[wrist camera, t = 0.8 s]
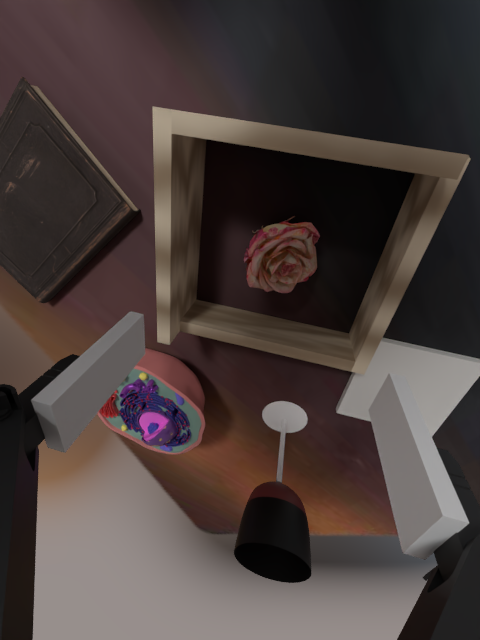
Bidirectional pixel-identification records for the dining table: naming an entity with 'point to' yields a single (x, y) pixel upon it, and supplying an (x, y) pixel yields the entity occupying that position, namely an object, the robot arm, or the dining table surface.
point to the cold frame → (262, 330)
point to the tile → (412, 380)
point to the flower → (281, 256)
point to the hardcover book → (51, 196)
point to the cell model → (158, 405)
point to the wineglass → (276, 514)
